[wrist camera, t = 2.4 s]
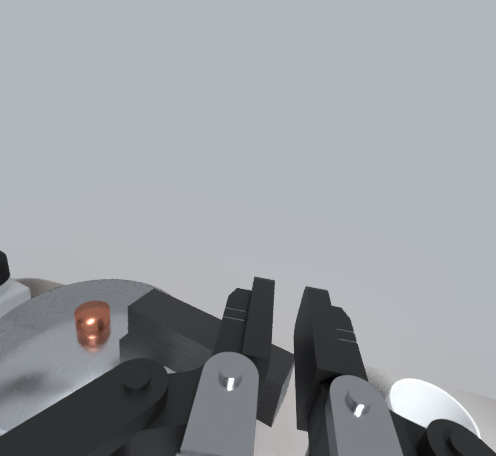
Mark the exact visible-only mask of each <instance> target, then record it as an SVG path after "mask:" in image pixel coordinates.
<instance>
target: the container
mask: <svg viewBox="0 0 496 456" xmlns="http://www.w3.org/2000/svg"><path fill="white" fill-rule="evenodd" d="M29 299H31V293H30V289H29V287H27V286H25V285H23V284H21V283H19V282H17V281H15V280H13V279H11V277H10V272H9V267H8V261H7V257H6V254H5V253H3V252H2V251H0V318H1V317H2V316H4V315H5V314H6V313H8V312H9V311H10V310H12V309H14V308H15V307H17V306H18V305H20V304H22V303H23V302H25V301H27V300H29Z"/></svg>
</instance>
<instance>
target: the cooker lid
mask: <svg viewBox="0 0 496 456" xmlns="http://www.w3.org/2000/svg"><path fill="white" fill-rule="evenodd" d="M221 322H222V320H220V319H218V318H216V317H214V316H212V315H210V314H208V313H205V312H204V311H201V310H199V309H197V308H195V307H193V306H191V305H189V304H187V303H184V302H182V301H180V300H178V299H176V298H174V297H172V296H171V295H169V294H168V293H166V292H164V291H163V290H161V289H158V288H156V287H154V286H151V285H148V284H145V283H141V282H136V281H129V280H118V279H117V280H116V279H103V280H91V281H84V282H78V283H74V284H69V285H65V286H62V287H59V288H55V289H53V290H50V291H47V292H44V293H42V294H40V295H37V296H35V297H33V298H31V299H29V300H27V301H25V302H23V303H22V304H20V305H18V306H17V307H15V308H14V309H12V310H10V311H9V312H8V313H6V314H5V315H4V316H2V317H1V318H0V436H1V435H3V434H5V433H6V432H8V431H10V430H11V429H13V428H15V427H16V426H18V425H20V424H21V423H23V422H25V421H26V420H28V419H30V418H31V417H33V416H35V415H36V414H38V413H40V412H41V411H43V410H45V409H46V408H48V407H49V406H51V405H53V404H54V403H56V402H58V401H59V400H61V399H63V398H64V397H66V396H68V395H69V394H71V393H73V392H74V391H76V390H78V389H79V388H81V387H83V386H84V385H86V384H88V383H89V382H91V381H93V380H94V379H96V378H98V377H99V376H101V375H103V374H104V373H106V372H108V371H109V370H111V369H113V368H114V367H116V366H118V365H119V364H121V363H123V362H125V361H128V360H131V359H135V358H149V359H153V360H155V361H157V362H159V363H160V364H162V365H163V366H164V368H165V369H166V371H167V374H168V373H179V372H187V371H191V370H195V369H197V368H199V367H201V366H202V365H204V364H205V363H206V362H207V361H208V360H209V359H210V357H211V356H212V353H213V350H214V347H215V343H216V340H217V336H218V332H219V329H220V325H221ZM294 364H295V361H294V354H292V353H290V352H288V351H286V350H284V349H282V348H280V347H277V346H275V345H273V344H271V360H270V364H269V368H268V372H267V376H266V380H265V384H264V389H263V393H262V397H261V401H260V405H259V409H258V413H257V417H256V419H257V420H259V421H261V422H263V423H264V424H266V425H268V426H270V427H272V424H273V422H274V420H275V418H276V415H277V413H278V411H279V408H280V406H281V404H282V402H283V399H284V397H285V395H286V392H287V388H288V385H289V381H290V378H291V374H292V371H293V367H294Z"/></svg>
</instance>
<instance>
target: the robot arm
mask: <svg viewBox="0 0 496 456" xmlns="http://www.w3.org/2000/svg"><path fill="white" fill-rule="evenodd" d="M274 286H275V281H274V280H270V279H264V278H259V277H254V282H253V287H252V291H250V290H245V289H240V288H237V289H236V290H235V291H234V292H232V293H231V294H230V295H229V297H228V300H227V304H226V308H225V311H224V315H223V318H222V322H221V325H220V329H219V332H218V336H217V340H216V343H215V347H214V350H213V353H212V356H211V357H210V359H209V360H208V361H207V362H206V363H205V364H204V365H202V366H201V367H199V368H197V369H195V370H191V371H187V372H179V373H168V374H167V371H166V369H165V368H164V366H163V365H162V364H160V363H159V362H157V361H155V360H153V359H149V358H135V359H131V360H128V361H125V362H123V363H121V364H119V365H118V366H116V367H114V368H113V369H111V370H109V371H108V372H106V373H104V374H103V375H101V376H99V377H98V378H96V379H94V380H93V381H91V382H89V383H88V384H86V385H84V386H83V387H81V388H79V389H78V390H76V391H74V392H73V393H71V394H69V395H68V396H66V397H64V398H63V399H61V400H59V401H58V402H56V403H54V404H53V405H51V406H49V407H48V408H46V409H45V410H43V411H41V412H40V413H38V414H36V415H35V416H33V417H31V418H30V419H28V420H26V421H25V422H23V423H21V424H20V425H18V426H16V427H15V428H13V429H11V430H10V431H8V432H6V433H5V434H3V435H1V436H0V456H253V452H254V438H255V425H256V417H257V413H258V409H259V405H260V401H261V397H262V393H263V389H264V384H265V380H266V376H267V372H268V368H269V364H270V360H271V342H272V323H273V305H274ZM353 331H354V330H353V327H352V324H351V320H350V318H349V317H348V316H347V315H346V313H345V312H344V311H343V310H342V308H340V307H335V306H331V302H330V297H329V293H328V291H327V290H323V289H317V288H312V287H307V286H306V287H305V290H304V293H303V297H302V300H301V304H300V308H299V311H298V315H297V319H296V323H295V329H294V361H295V388H296V415H297V429H298V430H302V431H307V432H308V438H309V445H308V448H307V451H306V454H305V456H496V453H495V452H494V451H493V450H492V449H491V448H489V447H488V446H487V445H486V444H485V443H484V442H483V441H482V440H481V439H480V438H479V437H477V436H476V435H475V434H474V433H473V432H471V431H470V430H469V429H467V428H466V427H464V426H462V425H460V424H458V423H456V422H454V421H451V420H447V419H436V420H433V421H432V422H430V423H429V425H428V427H427V428H425V427H423V426H421V425H419V424H417V423H414V422H412V421H410V420H408V419H406V418H404V417H402V416H400V415H398V414H396V413H395V412H393V411H392V410H390V409H389V408H388V405H387V403H386V401H385V399H384V397H383V396H382V394H381V393H380V392H379V391H378V390H377V389H376V388H375V387H374V386H373V385H372V384H370V383H369V382H368V379H367V375H366V372H365V368H364V365H363V361H362V358H361V355H360V351H359V348H358V344H357V343H356V337H355V334H354V333H353Z"/></svg>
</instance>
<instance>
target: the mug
mask: <svg viewBox="0 0 496 456" xmlns="http://www.w3.org/2000/svg"><path fill="white" fill-rule="evenodd" d="M385 401H386V403H387V405H388V408H389V409H390V410H392V411H393V412H395V413H396V414H398V415H400V416H402V417H404V418H406V419H408V420H410V421H412V422H414V423H417V424H419V425H421V426H423V427H425V428H427V427H428V425H429V423H430V422H432V421H433V420H436V419H447V420H451V421H454V422H456V423H458V424H460V425H462V426H464V427H466V428H467V429H469V430H470V431H471V432H473V433H474V434H475V435H476V436H477V437H479V438H480V433H479V430H478V428H477V426H476V424H475V422H474V420H473V419H472V417H471V416H470V414H469V413H468V412H467V411H466V409H465V408H464V407H463V406H462V405H461V404H460V403H459V402H458V401H457V400H455V399H454V398H453V397H452V396H451V395H449V394H448V393H446V392H445V391H443V390H442V389H440V388H439V387H437V386H435V385H433V384H431V383H428V382H426V381H423V380H419V379H413V378H404V379H400V380H398V381H396V382H395V383H393V385H392V386H391V388H390V390H389V392H388V394H387V396H386V398H385ZM480 439H481V438H480Z"/></svg>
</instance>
